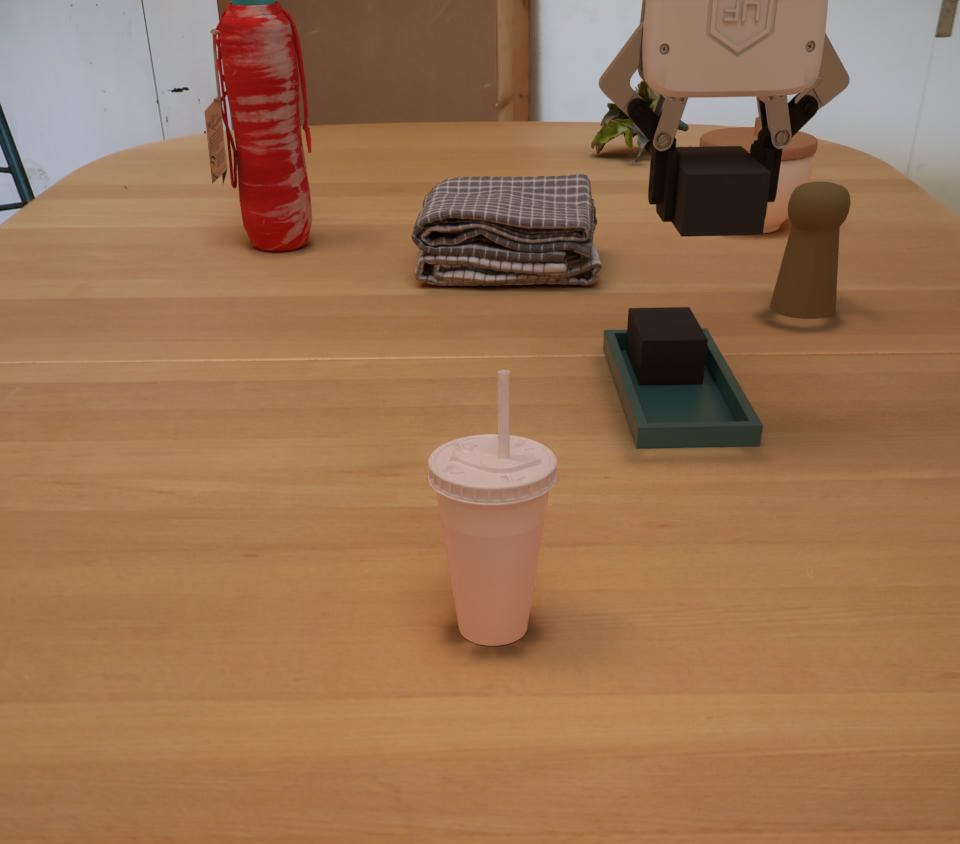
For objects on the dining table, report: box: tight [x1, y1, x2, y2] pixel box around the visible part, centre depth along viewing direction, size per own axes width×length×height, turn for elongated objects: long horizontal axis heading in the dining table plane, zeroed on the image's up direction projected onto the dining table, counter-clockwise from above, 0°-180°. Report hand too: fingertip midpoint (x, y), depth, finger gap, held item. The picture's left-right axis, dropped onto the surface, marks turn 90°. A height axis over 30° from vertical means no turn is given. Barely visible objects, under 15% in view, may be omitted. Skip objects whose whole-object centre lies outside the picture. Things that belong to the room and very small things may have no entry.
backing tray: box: [602, 327, 764, 450], centre depth 86 cm, size 21×9×2 cm, turn 1°
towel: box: [410, 173, 603, 287], centre depth 112 cm, size 15×18×8 cm
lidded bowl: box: [699, 116, 819, 234], centre depth 125 cm, size 13×13×11 cm
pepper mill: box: [769, 181, 851, 320], centre depth 99 cm, size 6×6×11 cm
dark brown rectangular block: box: [626, 306, 708, 385], centre depth 89 cm, size 8×5×4 cm, turn 2°
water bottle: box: [203, 0, 313, 253], centre depth 116 cm, size 12×8×25 cm, turn 81°
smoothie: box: [426, 369, 558, 647], centre depth 56 cm, size 6×6×14 cm
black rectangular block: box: [670, 146, 771, 238], centre depth 70 cm, size 8×5×4 cm, turn 2°
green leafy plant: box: [590, 80, 690, 163], centre depth 158 cm, size 11×11×12 cm
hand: (709, 212), depth 71 cm, fingers closed on black rectangular block, 5 cm apart
